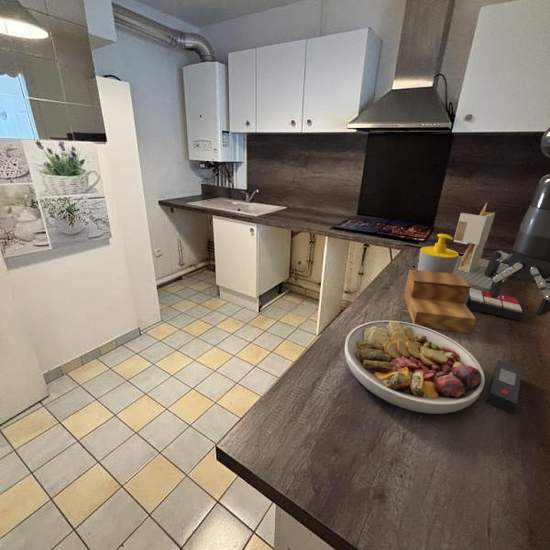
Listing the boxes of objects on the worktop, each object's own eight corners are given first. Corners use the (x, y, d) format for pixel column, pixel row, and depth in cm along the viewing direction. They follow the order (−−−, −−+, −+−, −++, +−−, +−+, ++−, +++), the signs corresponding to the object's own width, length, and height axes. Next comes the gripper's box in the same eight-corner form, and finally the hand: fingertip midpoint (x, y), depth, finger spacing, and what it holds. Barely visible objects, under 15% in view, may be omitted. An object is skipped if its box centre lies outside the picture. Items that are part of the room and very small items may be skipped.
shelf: (451, 302, 104) (460, 274, 100) (472, 333, 86) (483, 300, 82) (403, 296, 108) (408, 269, 103) (412, 325, 90) (420, 293, 85)
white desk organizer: (445, 266, 137) (461, 204, 126) (458, 259, 147) (474, 200, 136) (468, 272, 130) (487, 207, 119) (480, 264, 140) (499, 203, 129)
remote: (494, 368, 72) (498, 359, 71) (517, 377, 69) (522, 367, 68) (486, 402, 62) (490, 391, 61) (512, 414, 60) (517, 403, 58)
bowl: (320, 374, 69) (323, 347, 66) (371, 323, 91) (375, 301, 88) (464, 452, 52) (477, 420, 49) (486, 366, 73) (496, 340, 70)
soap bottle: (437, 296, 108) (451, 241, 100) (406, 283, 118) (416, 233, 110) (455, 288, 115) (470, 236, 106) (424, 277, 125) (436, 228, 116)
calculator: (525, 311, 91) (469, 297, 98) (519, 323, 93) (465, 308, 99) (518, 297, 100) (468, 285, 106) (513, 308, 102) (464, 296, 108)
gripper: (602, 238, 52) (565, 316, 58) (512, 222, 63) (489, 289, 70) (586, 243, 49) (548, 326, 55) (493, 225, 60) (471, 295, 66)
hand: (515, 305), depth 62 cm, fingers open, 8 cm apart
